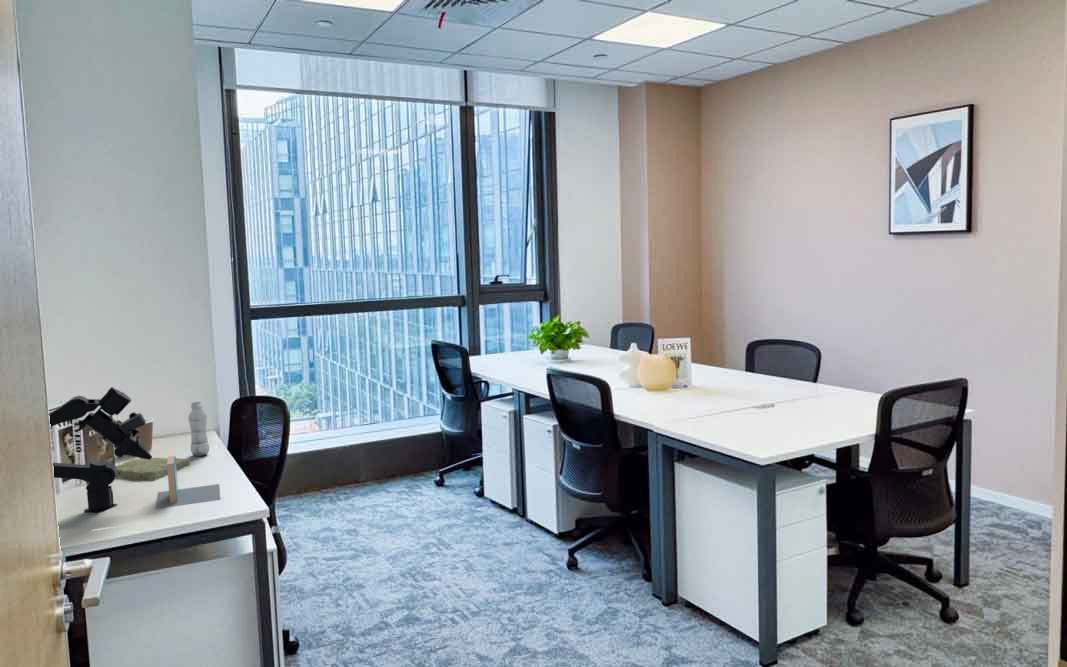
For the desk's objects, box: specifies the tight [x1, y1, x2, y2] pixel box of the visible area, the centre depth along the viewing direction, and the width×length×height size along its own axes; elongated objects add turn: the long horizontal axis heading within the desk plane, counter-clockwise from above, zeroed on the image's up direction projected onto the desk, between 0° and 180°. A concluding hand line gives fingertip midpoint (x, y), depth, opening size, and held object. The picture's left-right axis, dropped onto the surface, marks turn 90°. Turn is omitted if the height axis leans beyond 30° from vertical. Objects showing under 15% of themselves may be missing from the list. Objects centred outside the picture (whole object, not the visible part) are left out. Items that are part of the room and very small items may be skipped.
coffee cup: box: [133, 417, 154, 453], centre depth 302 cm, size 10×10×12 cm
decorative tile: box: [115, 457, 190, 480], centre depth 273 cm, size 19×20×4 cm
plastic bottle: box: [188, 401, 210, 457], centre depth 293 cm, size 6×7×20 cm
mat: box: [154, 483, 221, 510], centre depth 243 cm, size 18×18×1 cm
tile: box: [167, 455, 179, 503], centre depth 240 cm, size 2×10×12 cm, turn 23°
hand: (151, 458), depth 238 cm, fingers closed
